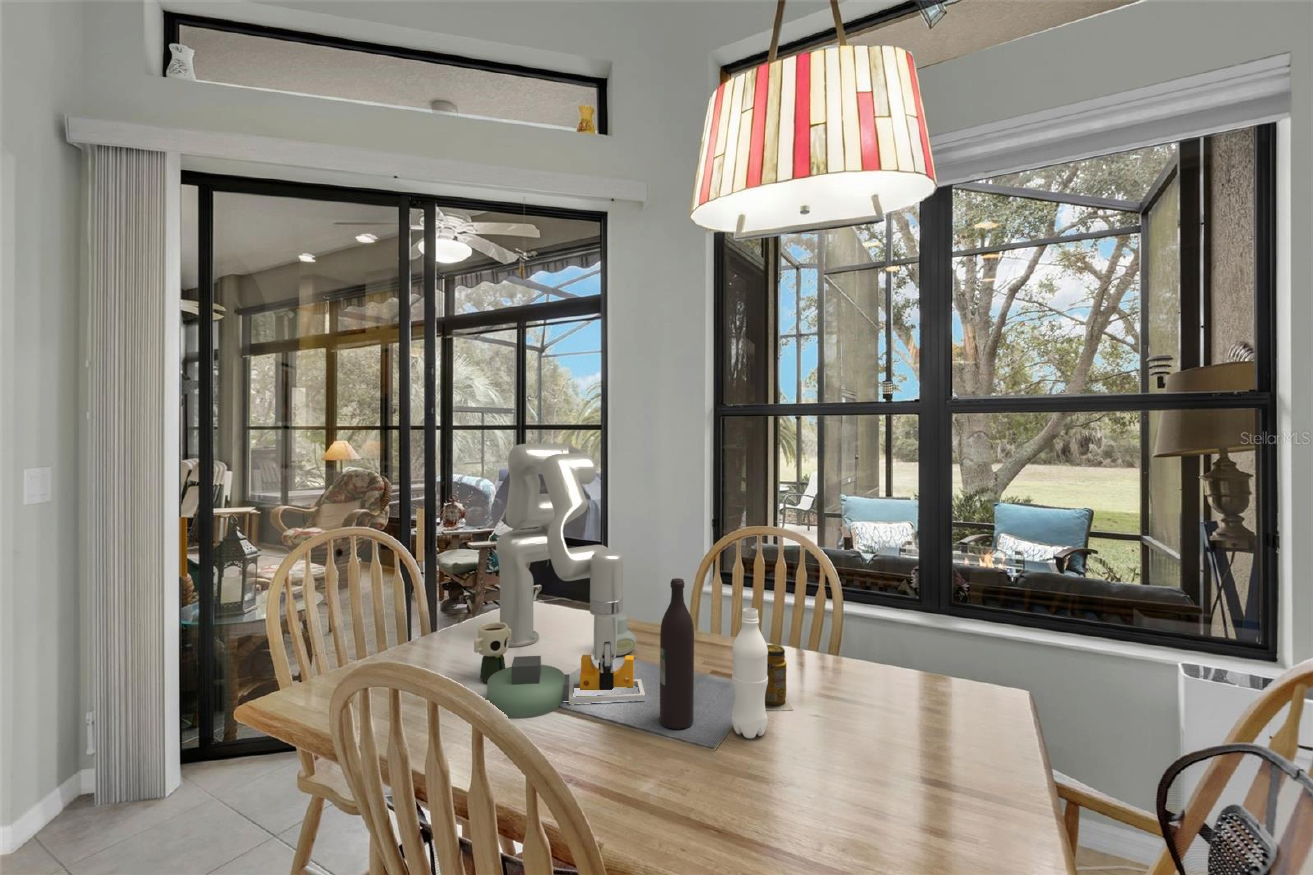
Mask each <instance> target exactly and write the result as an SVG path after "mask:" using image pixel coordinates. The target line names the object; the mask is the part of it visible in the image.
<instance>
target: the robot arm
mask: <svg viewBox="0 0 1313 875" xmlns="http://www.w3.org/2000/svg"><path fill="white" fill-rule="evenodd" d="M507 468H508V473H509V474H508V475H509V487H508V494H507V502H506V503H507V504H506V512H505V519H506V523H507V525H508V526H509V527H510V528H512V529H515V530H510V531H506V532H504V533H502V534H501V535H499V536H498V538H497V540H496V543H495V549H496V555H497V556H496V557H497V561H498V567H499V569H498V570H499V622H501V623H505V624H507V625H508V629H511V641H510V642H508V643H509V646H508V648H509V647H510V648H512V647H513V648H514V647H515V648H517V647H525V646H528V645H532V644H534V643H536V642H537V641H538V640H539V639H540V638H539V637H540V634H539V633H538V632H537V631H536V630H534V577H533V574H532V572H531V571H530V570H529V569H528V567H527V565H526V564H529V563H535V562H541V561H548V560H550V561H551V565H552V567H553V571H554V573H555V574H556V575H557V577H558V578H559V579H560V580H562V581H564V582H572V581H577V580H582V579H583V580H584V579H589V582H590V583H589V585H590V586H589V613H590V615H592V616H593V659H594V660H595V661H598V660H599V661H598V669H599V670H601V672H599V689H600V690H612V689H613V688H614V660H615V659H616V657H617V656H616V650H617V622H618V615H620V614H623V611H624V610H623V608H624V607H623V606H624V605H623V604H624V602H623V601H624V600H623V598H624V557H623V555H622V553H620V552H618V551H615V550H611V549H609V547H607V546H605V545H602V544H593V545H584V546H576V547H575V546H574V547H568V546H567V543H566V540H565V536H564V526H566V525H567V524H568V523H571V522H572V521H573V520H575V519H577V518H578V517H580V516H581V515H582V514H584V513H585V512H586V511H587V509H588V505H589V504H588V500H587V498H586V495H585V493H584V489H583V486H582V485H589V484H591V483H593V482H594V481H595V480H596V476H597V466H596V463H595V461H594V459H593V458H592V456H591V455H590V454H589V453H587V452H586V451H584V450H582V449H580V448H578V447H576V446H574V445H572V444H569V443H566V442H565V443H563V442H562V443H561V442H559V443H558V442H557V443H553V442H552V443H551V442H550V443H544V442H543V443H542V442H541V443H540V442H539V443H538V442H537V443H536V442H535V443H520V444H517V445H515V446H513V447H512V448H511V449H510V451H509V454H508V456H507ZM539 475H542V478H543V481H544V485H545V488H546V490H547V493H540V490H541V479H540V477H539ZM517 529H519V530H517Z"/></svg>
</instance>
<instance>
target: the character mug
mask: <svg viewBox="0 0 1313 875" xmlns="http://www.w3.org/2000/svg"><path fill="white" fill-rule="evenodd" d="M477 635H478V636H477V638H475V639H474V641H473V649H474V650H473V651H474V653H475V654H478V653H479V655H481V656H482V659H481V665H480V671H479V672H480V673H479V679H481V681H484V682H486V683H487V682H488V679H489V678H490V676H492V675H493V674H494V673H496V672H498V671H500V670H502V669H505V668H506V662H505V656H504V655H505V654H506V653H507V651H508V649H509V647H508V646H509V643H508V642H510V641H511V629H508V625H507V624H505V623H501V622H500V621H499V622H496V621H493V622H486V623H482V624H481V625H479V626H478V628H477Z"/></svg>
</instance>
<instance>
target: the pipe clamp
mask: <svg viewBox="0 0 1313 875" xmlns="http://www.w3.org/2000/svg"><path fill="white" fill-rule="evenodd" d="M624 656H625V657H624V662H623V663H622V665H621V666H620V667H619V668H618V669H616V670H615V671H614V670H613V671H614V687H627V688H633V684H634V679H635V678H634V675H635V668H634V667H635V661H634V660H635V655H630V654H629V655H627V654H625V655H624ZM599 672H601V670H599V667H596V665H595V664H594V661H593V660H592V655H591V654H582V655H581V658H580V674H579V682H580V690H600V689H599Z"/></svg>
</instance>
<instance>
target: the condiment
mask: <svg viewBox="0 0 1313 875" xmlns="http://www.w3.org/2000/svg"><path fill="white" fill-rule="evenodd" d="M766 645H767V648H768V655H767V676H768V684H767V688H766V692H765V710H766V711H778V712H782V711H793V710H794V709H793V707H792V705H791V703H790V701H789V700H788V698H787V661H786V656H785V654H786V652H785V649H784V648H783V647H782V646H780V645H776V644H766Z"/></svg>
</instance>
